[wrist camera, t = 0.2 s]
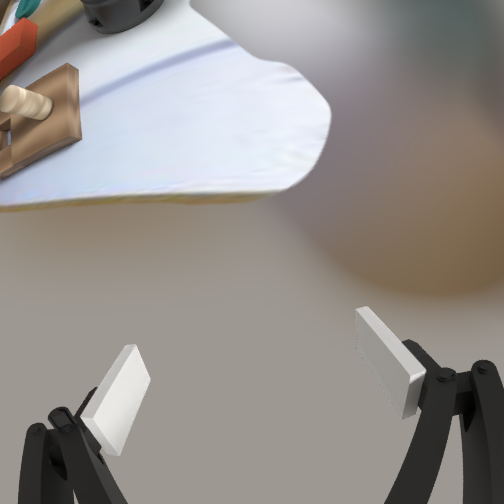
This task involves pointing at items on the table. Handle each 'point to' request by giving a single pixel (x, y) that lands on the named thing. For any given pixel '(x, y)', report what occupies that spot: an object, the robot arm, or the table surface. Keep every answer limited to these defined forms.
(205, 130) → the table surface
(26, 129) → the walnut board
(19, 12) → the bracket
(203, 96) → the table surface
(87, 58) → the table surface
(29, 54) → the brick
